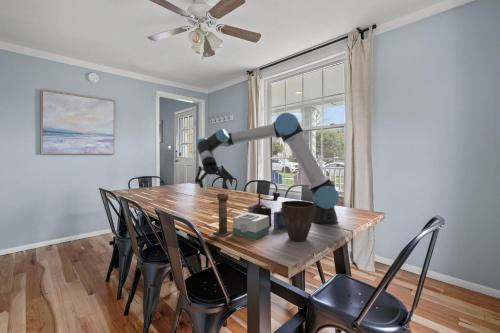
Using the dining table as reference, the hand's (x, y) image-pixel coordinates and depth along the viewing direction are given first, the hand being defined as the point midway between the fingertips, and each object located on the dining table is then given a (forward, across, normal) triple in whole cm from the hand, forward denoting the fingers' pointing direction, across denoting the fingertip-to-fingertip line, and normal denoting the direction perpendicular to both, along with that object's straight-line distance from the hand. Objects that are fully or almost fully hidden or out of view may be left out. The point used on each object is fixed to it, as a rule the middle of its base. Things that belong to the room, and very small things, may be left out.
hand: (218, 191), depth 122 cm
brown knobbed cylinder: (+18, 0, -9) cm, 20 cm away
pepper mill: (+15, -26, -13) cm, 33 cm away
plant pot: (+35, -27, +6) cm, 44 cm away
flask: (+23, -30, -5) cm, 38 cm away
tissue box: (+22, -12, -5) cm, 26 cm away
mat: (+18, 0, -10) cm, 21 cm away
